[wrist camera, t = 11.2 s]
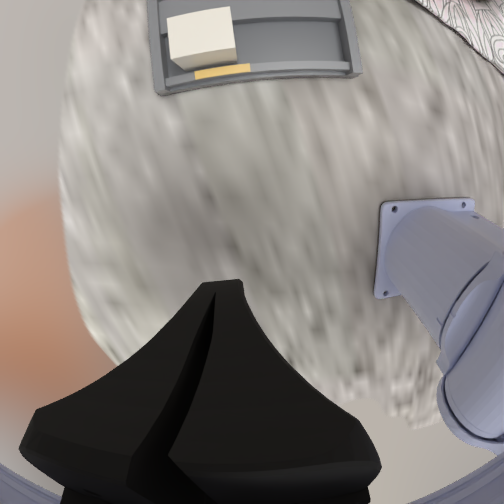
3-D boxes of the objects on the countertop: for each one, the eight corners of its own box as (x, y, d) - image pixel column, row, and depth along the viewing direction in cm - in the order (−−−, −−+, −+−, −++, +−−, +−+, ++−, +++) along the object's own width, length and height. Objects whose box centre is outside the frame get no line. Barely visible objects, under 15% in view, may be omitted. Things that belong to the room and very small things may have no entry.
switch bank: (328, -40, 10) (336, -53, 8) (352, 78, 14) (366, 73, 12) (152, -24, 11) (143, -37, 9) (162, 96, 15) (151, 93, 13)
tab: (233, 28, 12) (230, 6, 9) (237, 63, 13) (235, 47, 10) (182, 37, 12) (166, 18, 9) (185, 71, 13) (170, 59, 10)
